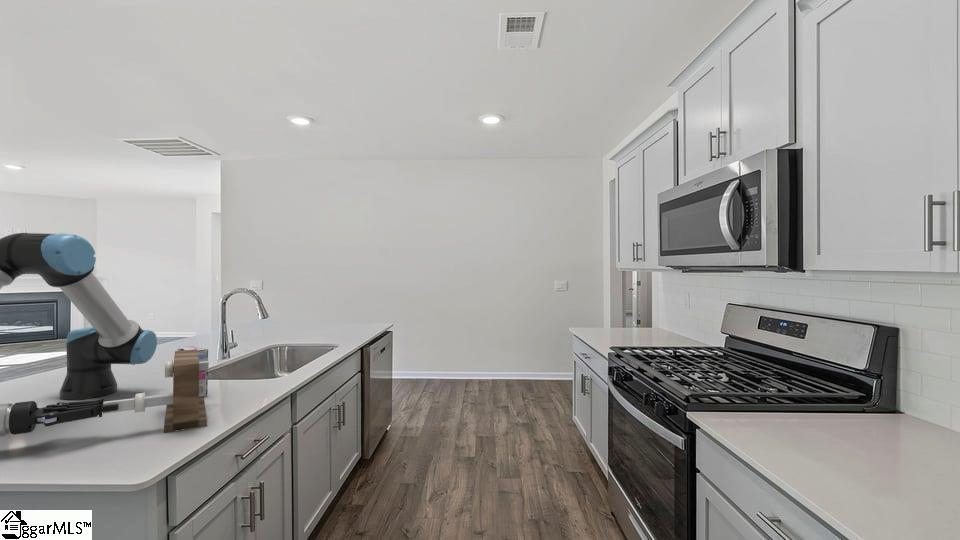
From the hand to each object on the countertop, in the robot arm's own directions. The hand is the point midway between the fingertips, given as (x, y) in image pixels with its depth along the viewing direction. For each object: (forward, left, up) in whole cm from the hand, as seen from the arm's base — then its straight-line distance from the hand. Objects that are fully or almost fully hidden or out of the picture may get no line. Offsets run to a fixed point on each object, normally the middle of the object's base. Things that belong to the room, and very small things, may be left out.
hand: (134, 403), depth 122 cm
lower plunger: (0, +6, -3) cm, 6 cm away
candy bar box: (-32, +14, -8) cm, 36 cm away
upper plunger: (-17, +12, +3) cm, 21 cm away
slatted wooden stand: (-8, +12, -8) cm, 16 cm away
